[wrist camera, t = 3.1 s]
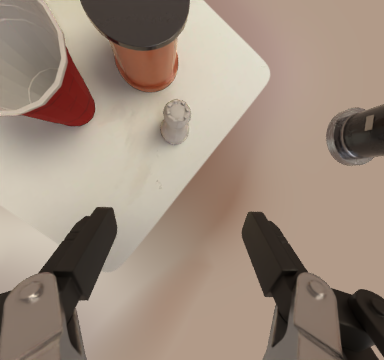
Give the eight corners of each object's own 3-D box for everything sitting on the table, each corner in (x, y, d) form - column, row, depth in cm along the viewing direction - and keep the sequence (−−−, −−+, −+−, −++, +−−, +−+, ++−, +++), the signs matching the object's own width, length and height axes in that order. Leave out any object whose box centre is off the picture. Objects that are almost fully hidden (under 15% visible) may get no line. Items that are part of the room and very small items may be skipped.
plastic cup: (28, 139, 23) (-122, 98, 11) (37, 64, 23) (-104, -59, 11) (109, 150, 24) (55, 123, 13) (117, 79, 25) (70, -13, 13)
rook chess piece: (188, 145, 26) (197, 131, 18) (160, 144, 26) (157, 129, 18) (188, 117, 26) (197, 91, 18) (160, 116, 26) (157, 88, 18)
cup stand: (177, 28, 26) (183, -59, 16) (184, 95, 26) (195, 47, 17) (107, 26, 24) (69, -72, 15) (116, 97, 25) (84, 45, 15)
